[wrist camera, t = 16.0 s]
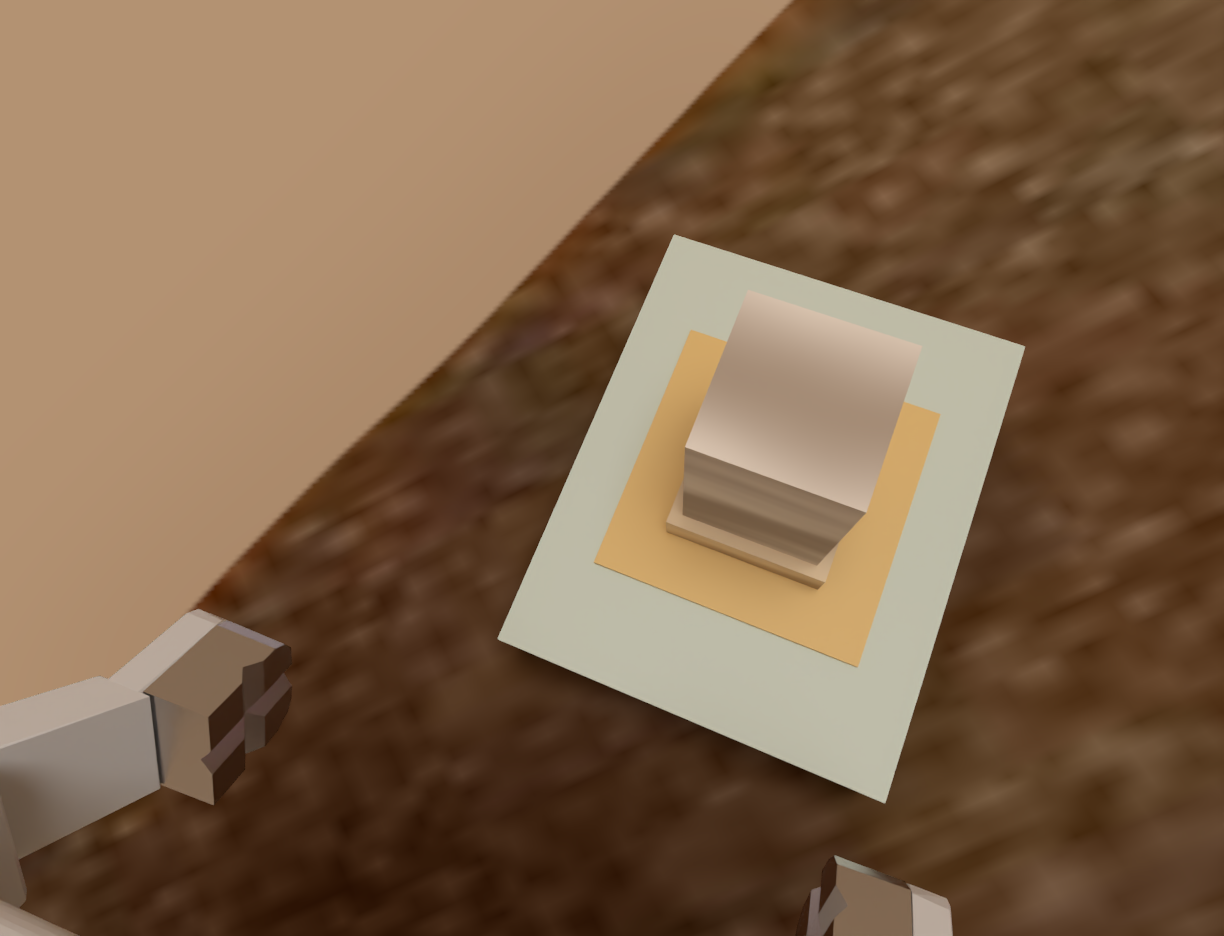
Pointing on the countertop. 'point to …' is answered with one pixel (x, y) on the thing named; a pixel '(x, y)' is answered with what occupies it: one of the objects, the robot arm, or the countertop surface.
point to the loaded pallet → (790, 437)
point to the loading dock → (738, 591)
